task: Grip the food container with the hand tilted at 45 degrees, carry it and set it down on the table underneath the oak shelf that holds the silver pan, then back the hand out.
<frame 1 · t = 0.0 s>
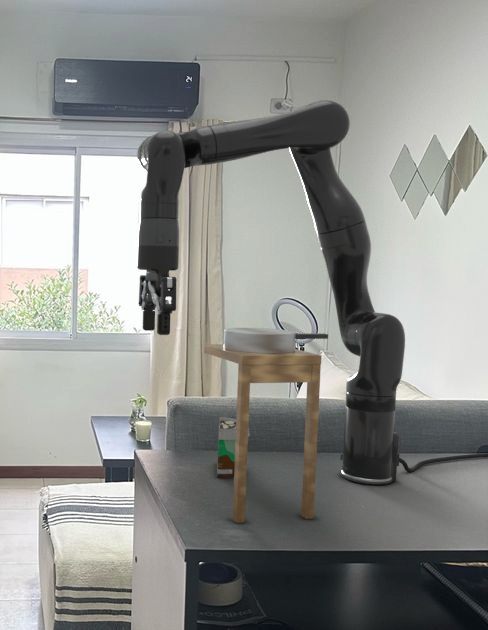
hand: (155, 332, 137), 29 cm above the cabinet, tool pointing down, fingers open, 8 cm apart
pan shelf: (253, 505, 131), on the cabinet
food container: (232, 473, 151), on the cabinet
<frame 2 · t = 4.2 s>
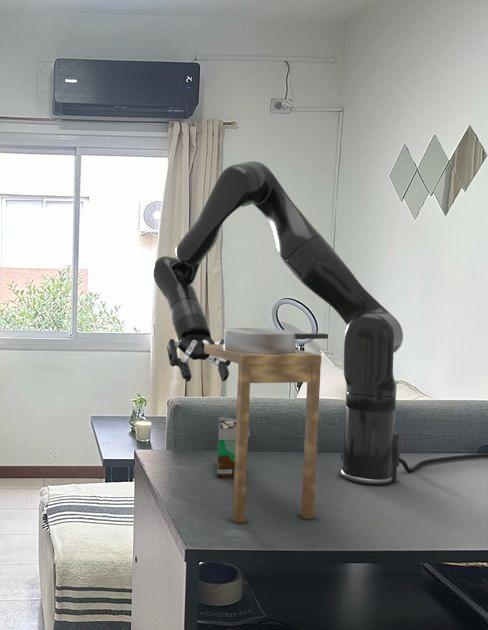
hand: (207, 379, 164), 17 cm above the cabinet, tool tilted 45°, fingers open, 8 cm apart
nothing on the cabinet moved.
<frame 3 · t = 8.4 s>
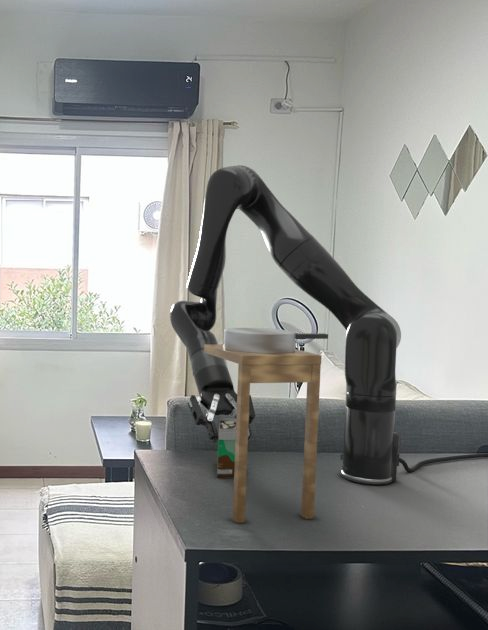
hand: (231, 439, 152), 6 cm above the cabinet, tool tilted 45°, fingers closed on food container, 6 cm apart
food container: (232, 473, 151), on the cabinet, touching gripper
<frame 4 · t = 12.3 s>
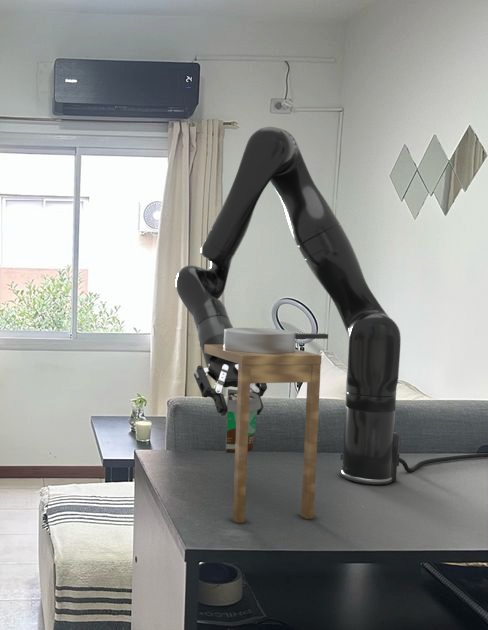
hand: (241, 412, 141), 14 cm above the cabinet, tool tilted 45°, fingers closed on food container, 6 cm apart
food container: (242, 448, 140), point 8 cm above the cabinet, touching gripper
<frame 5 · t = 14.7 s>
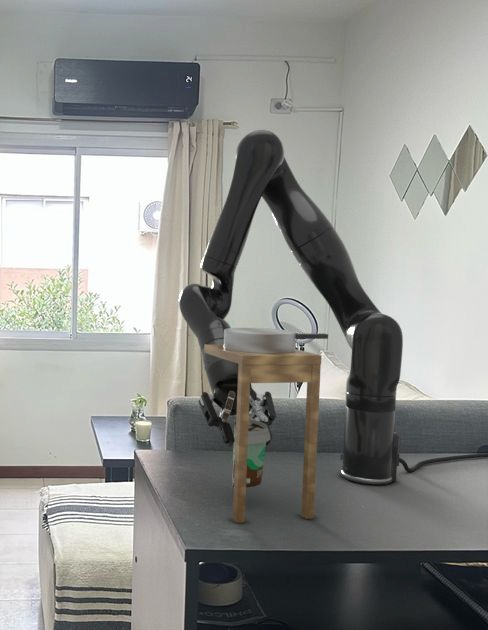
hand: (249, 443, 132), 10 cm above the cabinet, tool tilted 45°, fingers closed on food container, 6 cm apart
food container: (250, 482, 132), point 4 cm above the cabinet, touching gripper
when the fingers open (6 cm above the cabinet, at t = 16.5 s): food container stays where it is, on the cabinet.
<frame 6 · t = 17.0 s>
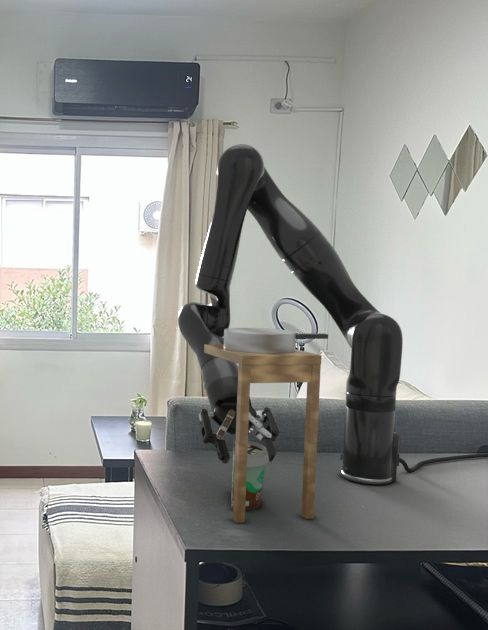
hand: (249, 460, 133), 7 cm above the cabinet, tool tilted 45°, fingers open, 8 cm apart
food container: (249, 504, 132), on the cabinet
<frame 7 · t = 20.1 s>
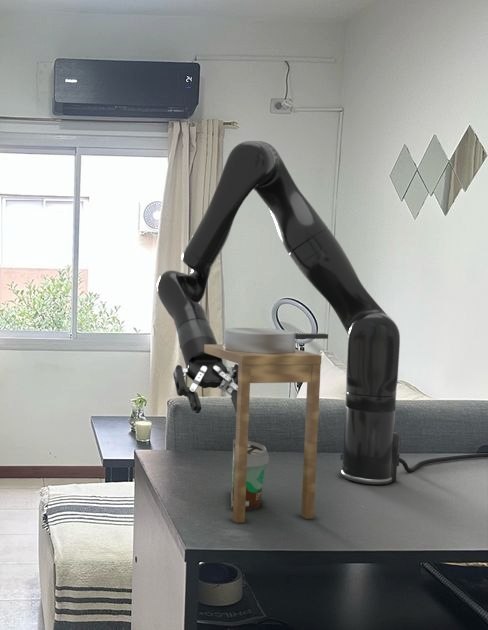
hand: (219, 410, 146), 13 cm above the cabinet, tool tilted 45°, fingers open, 8 cm apart
nothing on the cabinet moved.
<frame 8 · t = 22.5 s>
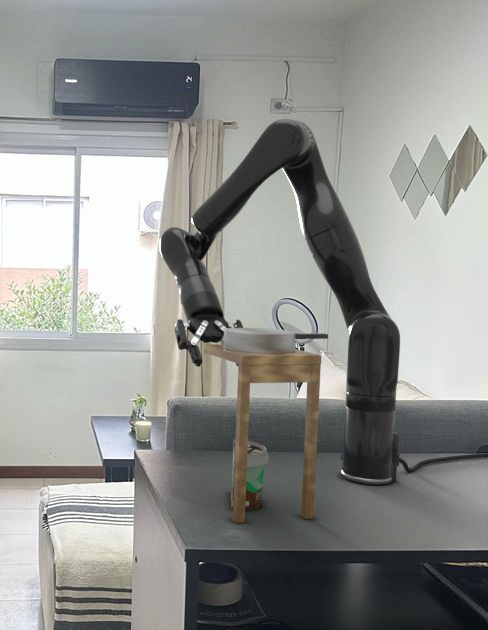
hand: (220, 364, 145), 23 cm above the cabinet, tool tilted 45°, fingers open, 8 cm apart
nothing on the cabinet moved.
at the end: food container inside the target area (0.4 cm from its centre), on the cabinet; food container tilted 0°; the gripper is holding nothing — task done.
